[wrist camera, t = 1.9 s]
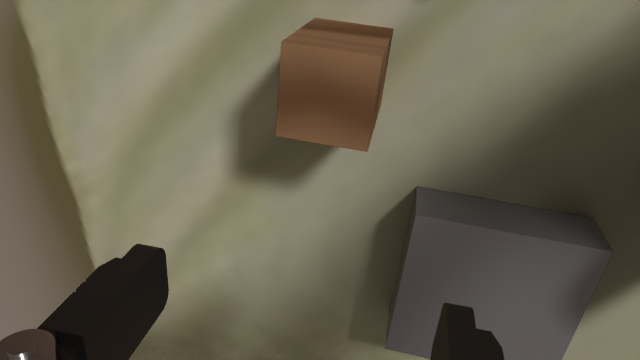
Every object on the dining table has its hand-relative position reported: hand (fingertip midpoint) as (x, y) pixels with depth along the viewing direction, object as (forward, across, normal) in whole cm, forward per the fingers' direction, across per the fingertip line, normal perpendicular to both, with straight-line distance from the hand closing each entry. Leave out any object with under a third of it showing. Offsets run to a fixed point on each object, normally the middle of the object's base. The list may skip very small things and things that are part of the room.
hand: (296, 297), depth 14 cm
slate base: (+21, -10, +12) cm, 26 cm away
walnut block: (+21, +2, -2) cm, 21 cm away
